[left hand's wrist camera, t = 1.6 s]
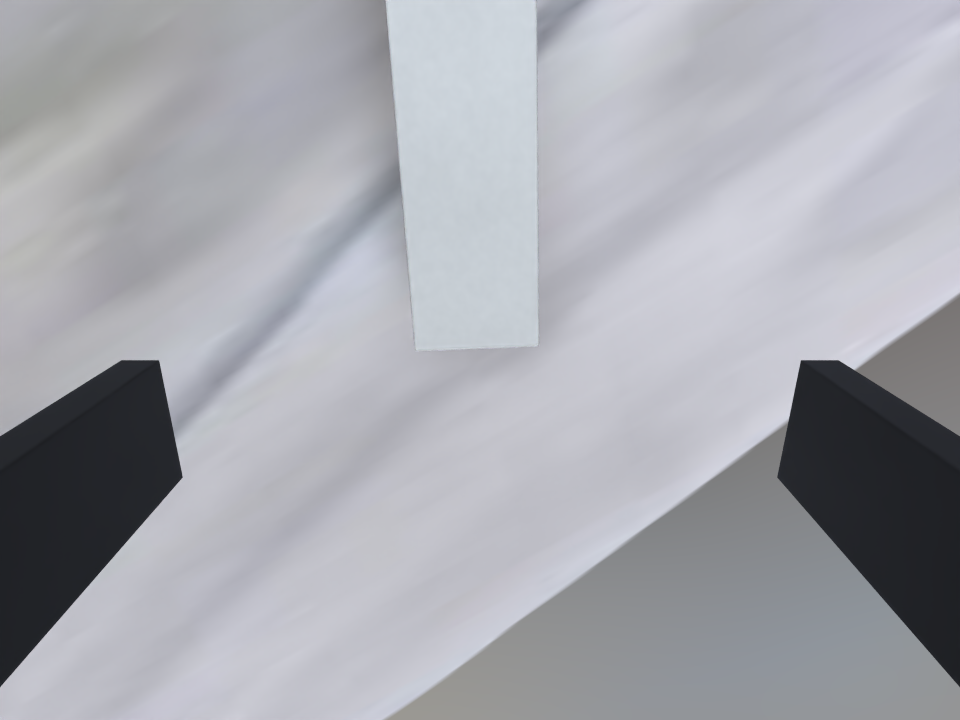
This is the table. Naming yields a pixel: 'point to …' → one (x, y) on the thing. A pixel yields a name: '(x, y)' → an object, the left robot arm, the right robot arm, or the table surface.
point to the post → (468, 168)
